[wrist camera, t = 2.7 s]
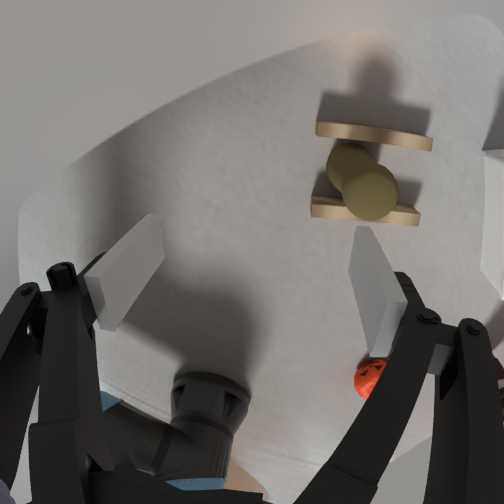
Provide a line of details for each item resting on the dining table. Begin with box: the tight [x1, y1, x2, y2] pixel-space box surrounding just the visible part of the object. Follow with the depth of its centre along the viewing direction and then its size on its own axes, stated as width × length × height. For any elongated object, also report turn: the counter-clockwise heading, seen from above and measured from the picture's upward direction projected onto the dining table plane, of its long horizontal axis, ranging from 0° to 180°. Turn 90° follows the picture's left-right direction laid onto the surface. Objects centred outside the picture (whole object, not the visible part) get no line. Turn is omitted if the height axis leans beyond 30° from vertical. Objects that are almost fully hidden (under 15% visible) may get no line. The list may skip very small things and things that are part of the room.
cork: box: [326, 143, 399, 221], centre depth 29 cm, size 6×6×11 cm
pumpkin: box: [354, 359, 387, 399], centre depth 46 cm, size 7×8×6 cm
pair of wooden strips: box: [310, 120, 433, 226], centre depth 33 cm, size 13×10×3 cm
